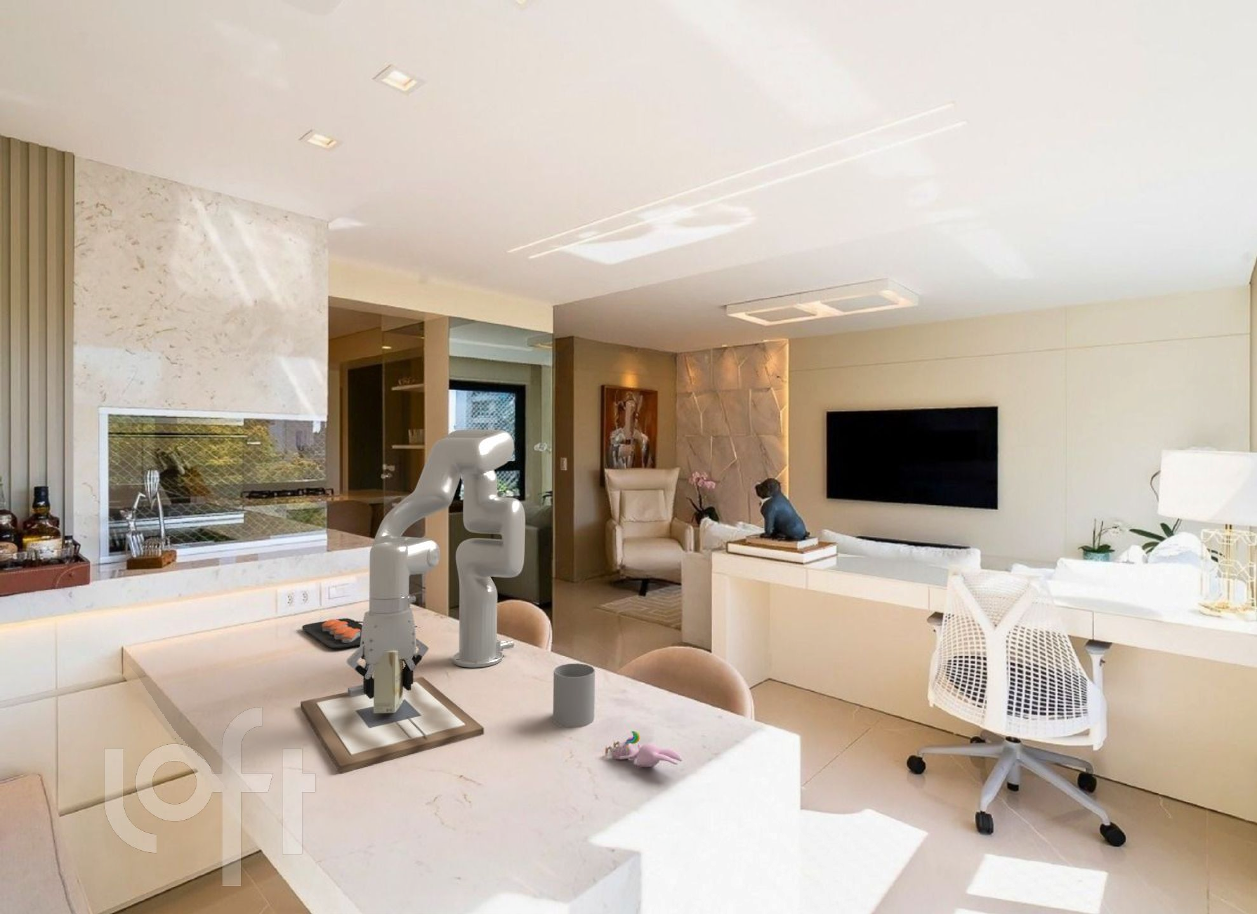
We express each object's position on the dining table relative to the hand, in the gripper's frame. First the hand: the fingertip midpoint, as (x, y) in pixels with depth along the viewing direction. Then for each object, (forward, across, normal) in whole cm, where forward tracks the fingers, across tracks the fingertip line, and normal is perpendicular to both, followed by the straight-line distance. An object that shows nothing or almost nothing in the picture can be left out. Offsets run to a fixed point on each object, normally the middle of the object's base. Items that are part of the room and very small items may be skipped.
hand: (388, 691), depth 131 cm
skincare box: (+3, 0, 0) cm, 3 cm away
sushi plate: (+7, -14, -67) cm, 69 cm away
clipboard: (+6, 0, 0) cm, 6 cm away
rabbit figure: (+6, -30, +44) cm, 54 cm away
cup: (+6, -31, +21) cm, 38 cm away
